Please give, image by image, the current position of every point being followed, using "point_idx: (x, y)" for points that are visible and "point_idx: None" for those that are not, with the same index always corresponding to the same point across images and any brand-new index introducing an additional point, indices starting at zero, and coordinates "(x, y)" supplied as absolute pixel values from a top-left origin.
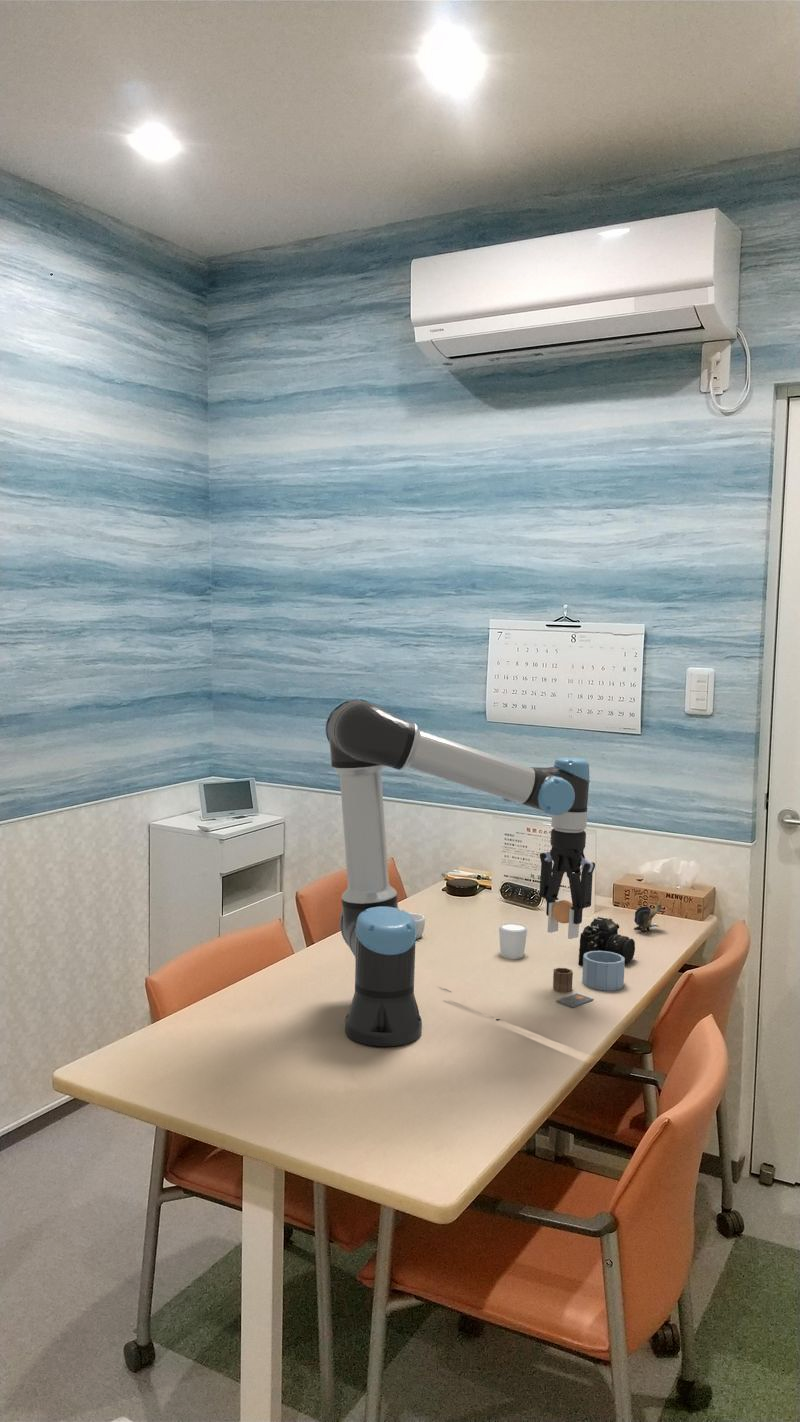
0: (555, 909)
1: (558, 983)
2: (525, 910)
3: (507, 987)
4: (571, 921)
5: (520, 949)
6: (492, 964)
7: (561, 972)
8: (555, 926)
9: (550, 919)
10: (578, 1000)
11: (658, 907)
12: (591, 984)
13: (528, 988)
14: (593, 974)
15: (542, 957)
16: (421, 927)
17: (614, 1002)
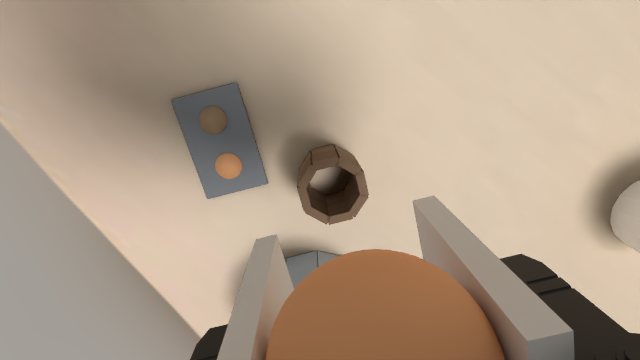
0: (395, 291)
1: (317, 153)
2: None
3: (420, 7)
4: (234, 311)
5: (636, 227)
6: (624, 99)
7: (353, 196)
8: (430, 260)
9: (448, 238)
10: (210, 149)
11: None
12: (299, 259)
13: (379, 73)
14: (293, 279)
15: (575, 281)
16: None
17: (175, 242)
